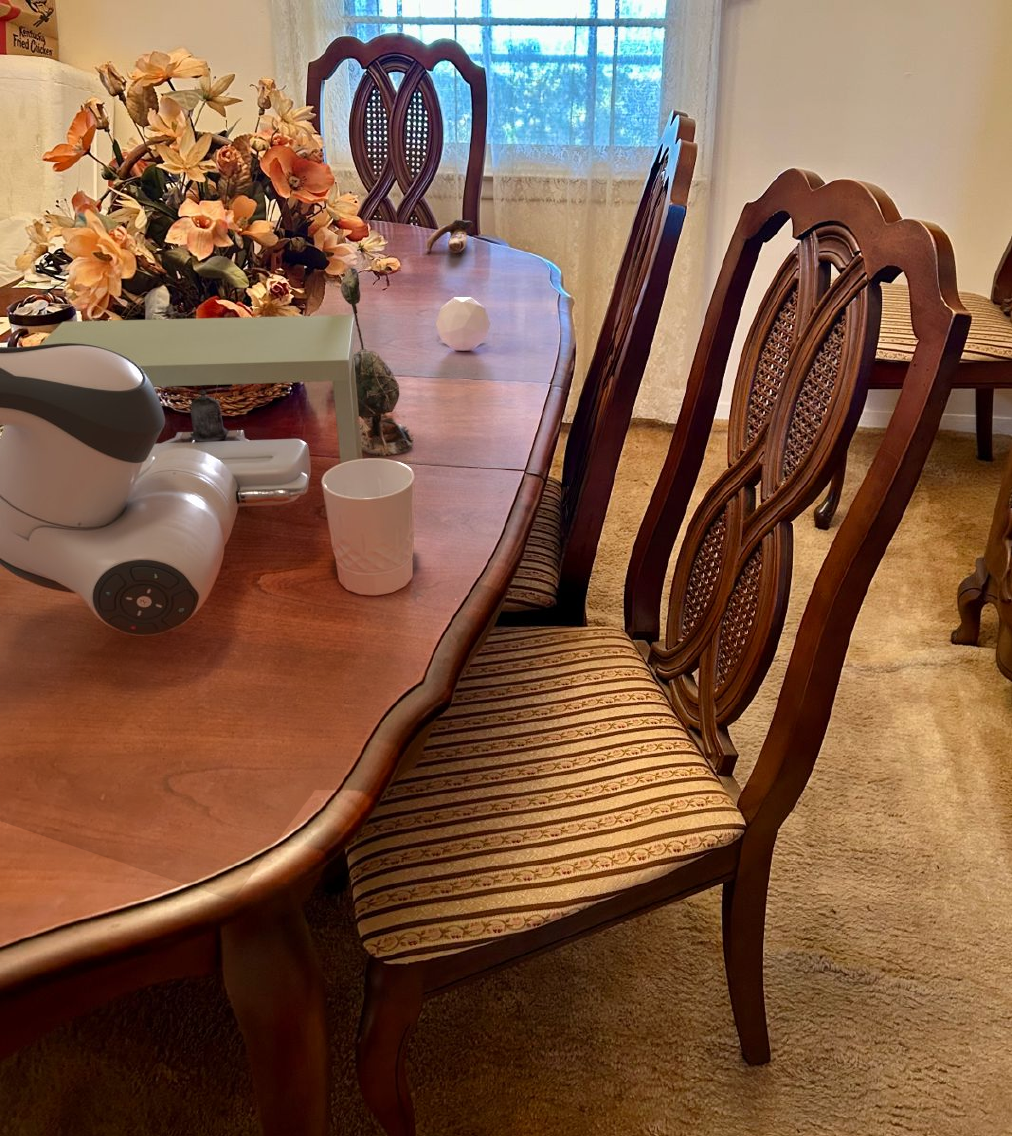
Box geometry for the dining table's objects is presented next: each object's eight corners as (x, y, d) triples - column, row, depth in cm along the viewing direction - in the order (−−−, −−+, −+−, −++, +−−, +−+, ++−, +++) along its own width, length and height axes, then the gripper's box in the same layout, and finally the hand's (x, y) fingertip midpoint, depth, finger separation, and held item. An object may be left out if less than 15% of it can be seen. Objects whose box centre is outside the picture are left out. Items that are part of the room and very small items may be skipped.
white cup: (397, 607, 81) (390, 505, 75) (316, 590, 83) (304, 490, 78) (432, 562, 87) (428, 465, 82) (356, 548, 89) (347, 452, 84)
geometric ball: (457, 362, 142) (456, 311, 143) (500, 351, 138) (499, 299, 139) (425, 349, 136) (425, 296, 137) (470, 337, 132) (469, 283, 132)
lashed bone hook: (431, 240, 202) (423, 258, 186) (430, 217, 200) (422, 234, 184) (474, 239, 202) (470, 257, 186) (473, 216, 199) (469, 232, 184)
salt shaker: (228, 518, 92) (209, 403, 86) (178, 508, 94) (156, 395, 88) (261, 493, 97) (245, 382, 91) (213, 484, 99) (195, 375, 93)
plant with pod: (337, 465, 105) (319, 286, 94) (352, 426, 114) (338, 259, 104) (409, 466, 105) (400, 287, 94) (418, 426, 114) (410, 259, 104)
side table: (62, 537, 91) (14, 369, 82) (100, 474, 102) (62, 321, 94) (362, 524, 93) (348, 359, 84) (365, 464, 105) (353, 314, 96)
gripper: (302, 464, 80) (314, 404, 92) (56, 473, 79) (100, 411, 90) (310, 528, 84) (320, 463, 95) (74, 538, 82) (114, 470, 94)
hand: (212, 438), depth 93 cm, fingers closed on salt shaker, 3 cm apart
